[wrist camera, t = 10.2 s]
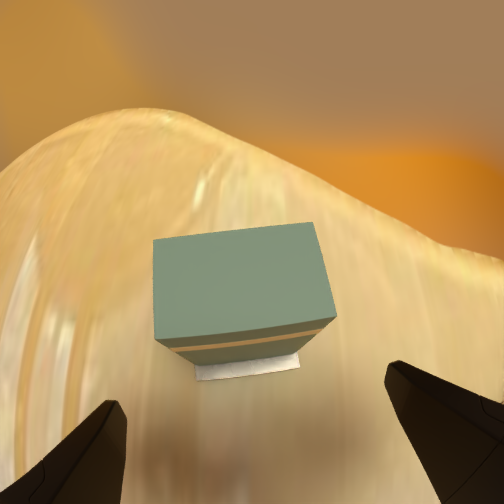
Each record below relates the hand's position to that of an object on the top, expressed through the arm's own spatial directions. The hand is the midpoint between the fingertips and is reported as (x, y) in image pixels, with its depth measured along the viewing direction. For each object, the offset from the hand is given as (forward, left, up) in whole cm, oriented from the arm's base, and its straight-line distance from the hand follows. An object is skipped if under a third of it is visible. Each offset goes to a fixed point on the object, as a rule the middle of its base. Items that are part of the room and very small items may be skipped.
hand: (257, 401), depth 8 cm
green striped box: (+3, +3, -11) cm, 11 cm away
